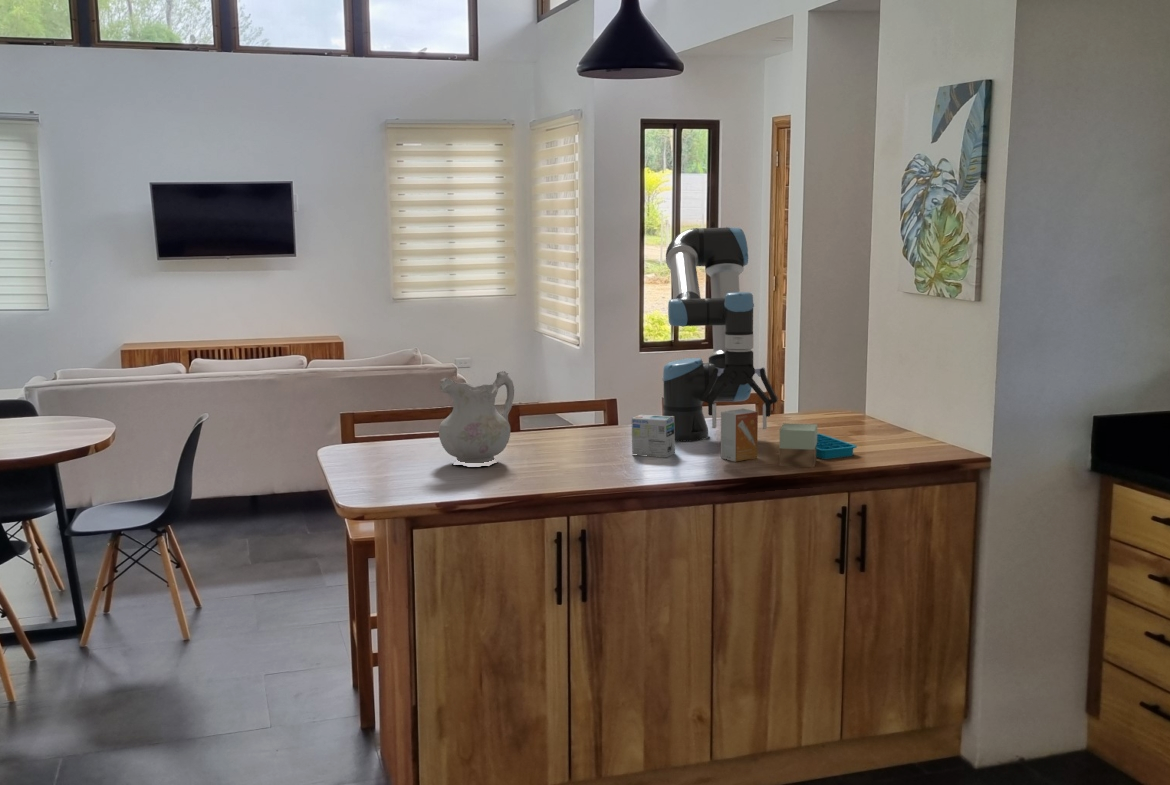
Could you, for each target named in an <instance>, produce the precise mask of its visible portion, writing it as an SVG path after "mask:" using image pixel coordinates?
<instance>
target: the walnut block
mask: <svg viewBox="0 0 1170 785" xmlns="http://www.w3.org/2000/svg"><path fill="white" fill-rule="evenodd" d="M778 448H779V447H778ZM778 450H779V455H778V457H779V461H778V462H779V465H778V466H779V467H789V468H790V467H795V468H815V465H816V462H817V457H816V447H815V449H814V450H810V449H783V448H779V449H778Z"/></svg>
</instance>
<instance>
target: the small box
mask: <svg viewBox="0 0 1170 785" xmlns="http://www.w3.org/2000/svg"><path fill="white" fill-rule="evenodd" d="M758 415H759V412H758V411H756V410H752V409H746V408H740V409H739V408H738V409H732V410H727V411H721V412H720V459H724V460H726V459H727V461H730V462H731V461H732V462H740V461H746V460H748V461H749V460H752V459H753V460H754V459H758V435H759V434H758V432H759V431H758V426H759V425H758V423H759V422H758V421H759V420H758V419H759V417H758Z"/></svg>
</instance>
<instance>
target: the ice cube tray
mask: <svg viewBox="0 0 1170 785" xmlns="http://www.w3.org/2000/svg"><path fill="white" fill-rule="evenodd" d="M857 447H858V445H855V444H853V443H850V442H847V441H844V440H841V439H839V438H838V439H837V438H835V437H832V436H828V435H825V434H822V433H817V444H816V458H818V459H823V460H827V459H828V460H829V459H836V458H837V457H838V458H845V457H846V456H847V457H853V456H854V449H856V448H857ZM852 455H853V456H852Z"/></svg>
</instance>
